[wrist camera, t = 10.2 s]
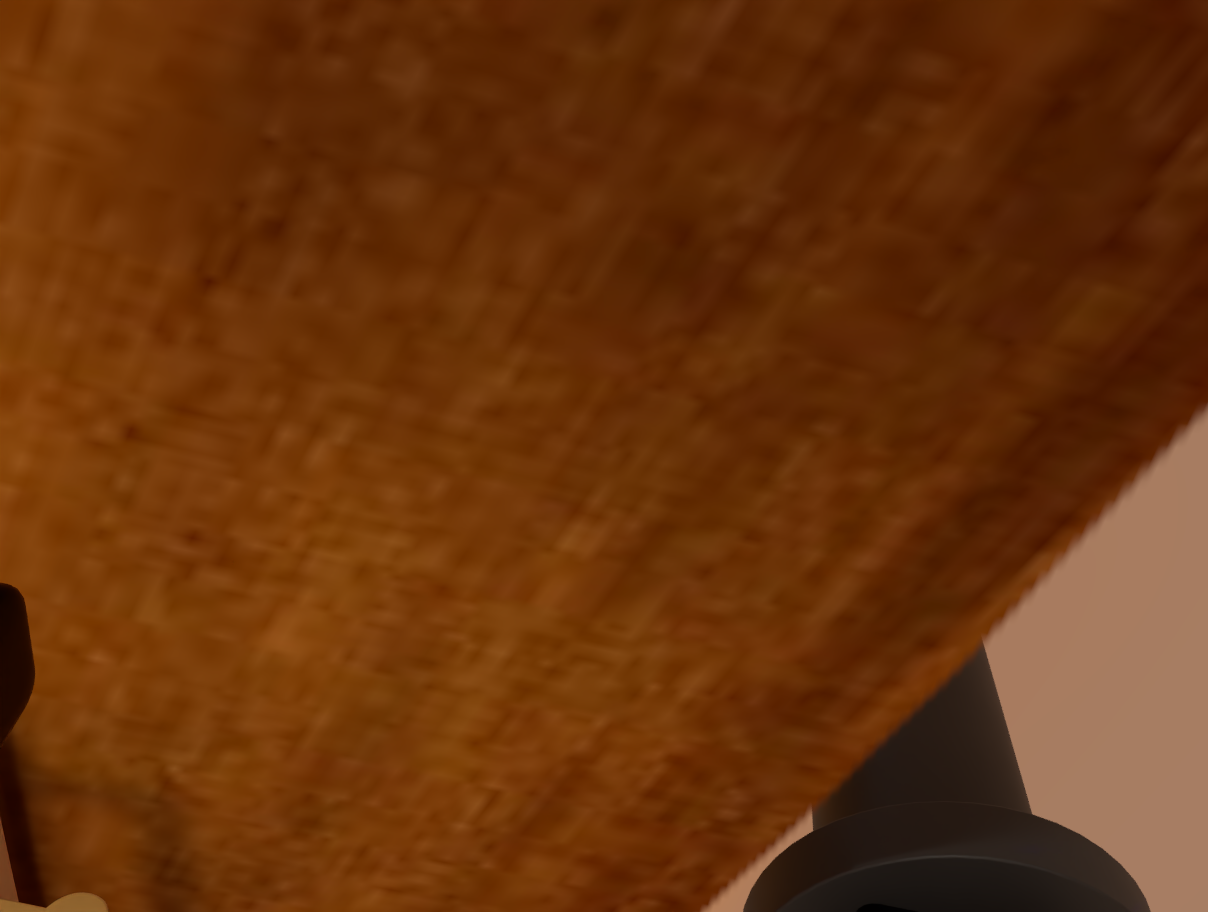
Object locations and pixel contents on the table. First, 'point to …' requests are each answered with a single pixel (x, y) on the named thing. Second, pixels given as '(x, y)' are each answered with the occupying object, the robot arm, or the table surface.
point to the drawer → (4, 908)
